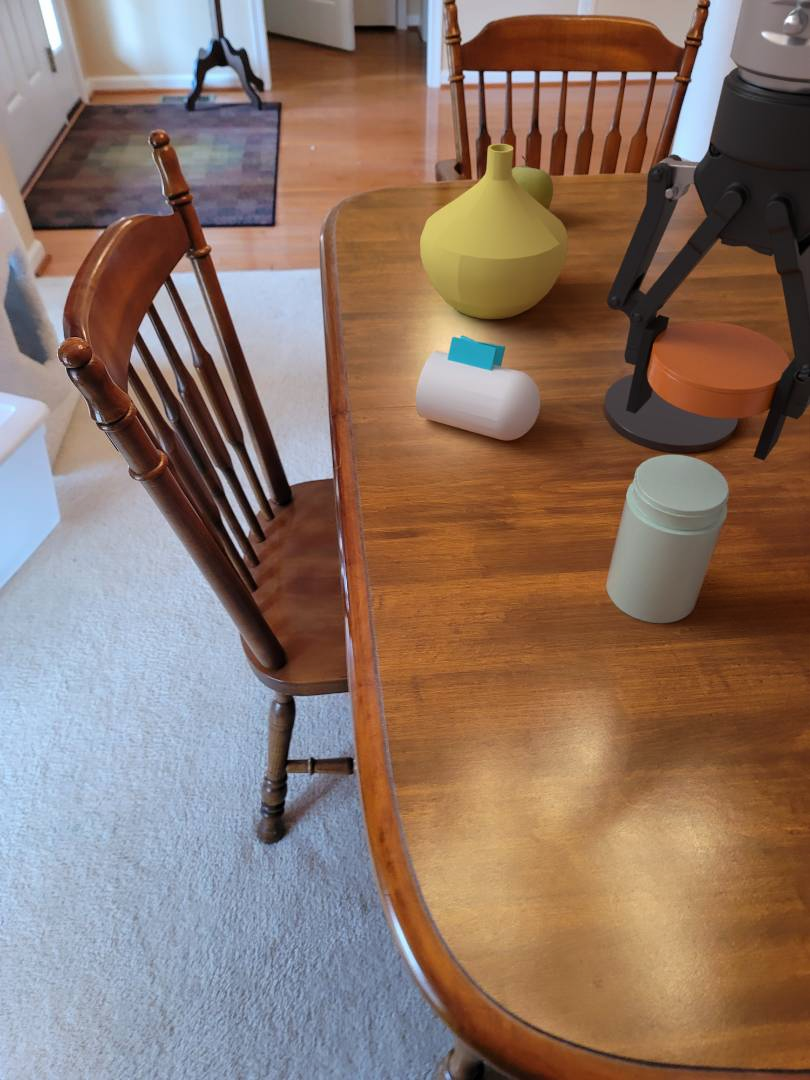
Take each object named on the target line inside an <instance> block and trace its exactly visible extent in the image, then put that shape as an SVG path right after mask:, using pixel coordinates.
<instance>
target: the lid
mask: <svg viewBox="0 0 810 1080" xmlns="http://www.w3.org/2000/svg"><path fill="white" fill-rule="evenodd" d="M790 363H791V362H790V358H789V356H788V354H787V352H786V351H785V350H784V349H783V347H781V345H780V344H778V343H777V342H776V341H774V340H773V339H771V338H770V337H768V336H766V335H764V334H762V333H760V332H759V331H756V330H753V329H750V328H748V327H745V326H740V325H737V324H733V323H727V322H721V321H718V322H717V321H704V320H703V321H690V322H683V323H678V324H675V325H672V326H670V327H667V329H666V330H664V331H663V332H661V333H660V334H659V335H658V336H657V337H656V339H655V341H654V344H653V348H652V352H651V357H650V361H649V366H648V371H647V378H648V382H649V384H650V386H651V387H652V389H653V390H654V391H655V392H656V394H657V395H659V396H660V397H661V398H662V399H664V400H665V401H667V402H668V403H670V404H672V405H674V406H676V407H678V408H680V409H682V410H685V411H688V412H691V413H694V414H698V415H702V416H707V417H714V418H726V419H732V418H738V419H745V418H751V417H754V416H757V415H760V414H763V413H765V412H767V411H769V410H770V407H771V404H772V401H773V398H774V396H775V393H776V390H777V387H778V384H779V381H780V378H781V376H782V373H783V372H784V371H785V369H786V368H787V367H788V365H789V364H790Z"/></svg>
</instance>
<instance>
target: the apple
mask: <svg viewBox="0 0 810 1080" xmlns="http://www.w3.org/2000/svg"><path fill="white" fill-rule="evenodd" d="M521 158H522V159H523V160H524V162H525V164H526V165H517V166H514V167H512V176H513V177H514V179H515V180H516V182H517V183H518V185H519V186H521V187H522V188H523V189H524V190H525V191H526V192H527V193H528V194H529V195H531V196H532V197H533V198H534V199H535V200H536V201H537V202H538V203H540V204H541V205H542V206H543V207H544V208H546V209H547V210H548V211H549V210H550V207H551V203H552V200H553V195H554V185H553V180H552V177H551V176H550V174H549V173H548V172H546V171H545V170H542V169H539V168H535V167H534V168H533V167H530V166H529V164H528V162H527V160H526V158H525V157H524V155H522V156H521Z"/></svg>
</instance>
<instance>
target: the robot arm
mask: <svg viewBox="0 0 810 1080" xmlns="http://www.w3.org/2000/svg"><path fill="white" fill-rule="evenodd" d="M729 58H730V59H731V61H733V63H734V64H735V66H736V67H735V68H734V69H732V70H731V71H729V73H728V74H727V75H726V76H724V78H723V82H722V85H721V91H720V94H719V100H718V102H717V108H716V111H715V116H714V121H713V124H712V128H711V129H712V130H711V133H710V134H711V135H710V138H709V144H708V148H707V151H706V153H705V154H704V156H703V157H702V159H701V160H700V161H689V160H682V157H681V156H680V155H678V154H670V155H668V156H666V157H665V158H663V159H661V160H660V161H659V162H658V163H656V164H655V165H653V166H652V167H650V169H649V170H648V173H647V181H646V183H647V184H646V195H645V196H646V198H645V199H646V200H645V205H644V207H643V210H642V212H641V215H640V218H639V220H638V222H637V224H636V227H635V229H634V232H633V234H632V237H631V239H630V242H629V244H628V246H627V249H626V251H625V254H624V257H623V259H622V260H621V261H622V262H621V264H620V266H619V269H618V270H617V274H616V275H615V276H616V277H615V278H614V281H613V283H612V285H611V288H610V291H609V293H608V296H607V297H606V298H607V299H606V303H607V305H608V307H609V308H610V309H611V310H613V311H619V310H620V311H621V312H622V313H624V314H625V315H626V316H627V317H628V319H629V323H630V324H629V330H628V333H627V340H626V345H625V349H624V360H625V363H627V364H630V365H632V366H634V369H633V379H632V384H631V388H630V393H629V398H628V403H627V408H626V411H629V412H631V413H634V414H636V413H637V412H638V411H639V410H640V408H641V407H642V406H643V405H644V404H645V403H646V402H647V401H648V400H649V399H650V398H651V395H652V391H653V389H652V387H651V386H650V384H649V382H648V378H647V371H648V366H649V361H650V357H651V352H652V348H653V344H654V341H655V339H656V337H657V336H658V335H659V334H660V333H661V332H663V331H664V330H666V329H668V326H669V321H670V317H669V316H665V315H662V314H658V312H659V311H660V310H661V309H663V307H664V305H665V304H666V303H667V301H668V300H669V299H670V298H671V297H672V296H673V294H674V293H675V292H676V291H677V290H678V289H679V287H680V286H681V285H682V284H683V282H684V281H685V280H686V279H687V278H688V276H689V275H690V274H691V273H692V272H693V270H695V268H696V267H697V266H698V264H699V263H700V262H702V260H703V259H704V258H705V256H706V255H707V254H708V253H709V252H710V250H711V249H712V248H713V247H714V245H715V244H716V243H718V241H719V240H720V244H722V245H725V246H729V247H746V248H749V249H750V250H752V251H754V252H756V253H758V254H760V255H764V256H769V257H772V256H773V260H774V264H775V271H776V273H777V274H778V275H779V276H780V279H781V286H782V291H783V292H782V293H783V297H784V303H785V308H786V315H787V320H788V326H789V332H790V337H791V344H792V349H793V353H794V354H793V355H794V357H793V359H792V360H791V362H789V363H790V364H789V365H788V367H787V368H786V369H785V371H784V372H783V373H782V376H781V378H780V381H779V384H778V387H777V390H776V393H775V396H774V398H773V401H772V404H771V407H770V409H768V413H767V416H766V419H765V421H764V424H763V426H762V427H763V428H762V430H761V433H760V436H759V439H758V442H757V445H756V447H755V449H754V450H755V451H754V453H753V458H756V459H758V460H761V461H765V460H766V459H767V458H768V456H769V454H770V453H771V452H772V450H773V449H774V447H775V446H776V445H777V443H778V441H779V438H780V436H781V433H782V431H783V427H784V425H785V423H786V419H787V417H788V418H791V419H794V420H798V419H799V418H801V417H802V416H803V415H804V413H805V412H806V410H807V408H809V406H810V0H741V4H740V8H739V14H738V18H737V22H736V27H735V31H734V36H733V41H732V45H731V50H730V55H729ZM691 185H694V187H695V190H696V192H697V196H698V198H699V200H700V203H701V205H702V208H703V210H704V213H705V215H706V217H705V218H704V219H703V221H702V222H701V223H700V224H699V225H698V227H697V228H696V229H695V230H694V232H693V233H692V234H691V235H690V237H689V238H688V239H687V242H686V243H685V245H683V247H682V248H681V249H680V251H679V252H678V253H677V254H676V255H675V257H674V258H673V259H672V260H671V261H670V263H669V264H668V266H666V268H665V269H664V271H662V273H661V275H660V276H659V277H658V278H657V279H656V280H655V282H654V283H653V284H652V285H651V287H650V288H649V289H648V291H647V292H646V293H645V292H643V291H642V290H640V289H641V286H642V284H643V282H644V280H645V278H646V276H647V274H648V271H649V269H650V266H651V264H652V261H653V260H654V257H655V255H656V253H657V250H658V248H659V246H660V244H661V241H662V239H663V236H664V234H665V232H666V230H667V227H668V226H669V223H670V221H671V219H672V216H673V214H674V212H675V209H676V207H677V204H678V202H679V199H681V198H682V197H684V196H685V195H686V194H687V193H688V191H689V189H690V186H691ZM657 314H658V315H657Z"/></svg>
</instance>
